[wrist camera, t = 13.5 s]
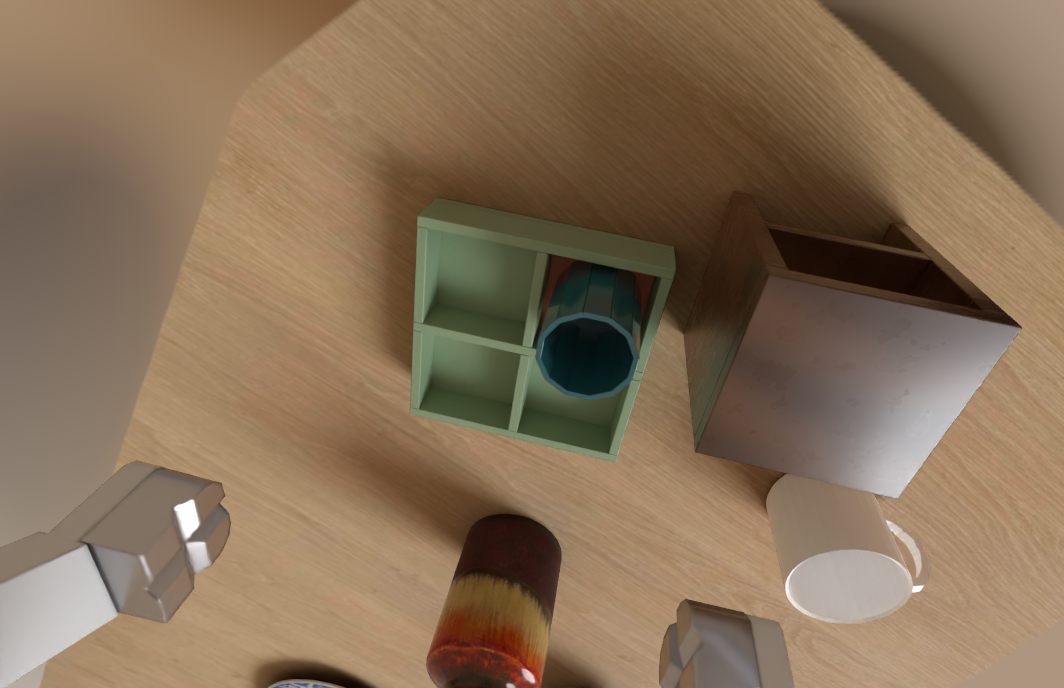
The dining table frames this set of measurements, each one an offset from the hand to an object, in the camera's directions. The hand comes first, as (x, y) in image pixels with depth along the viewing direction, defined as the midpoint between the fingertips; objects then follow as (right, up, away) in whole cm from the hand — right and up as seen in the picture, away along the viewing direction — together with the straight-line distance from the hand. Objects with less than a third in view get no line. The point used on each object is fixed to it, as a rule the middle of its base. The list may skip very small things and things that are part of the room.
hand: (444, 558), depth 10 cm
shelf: (+21, +8, +32) cm, 39 cm away
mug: (+29, -11, +43) cm, 53 cm away
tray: (+2, +5, +38) cm, 38 cm away
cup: (+7, +7, +34) cm, 36 cm away
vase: (0, -19, +54) cm, 57 cm away
